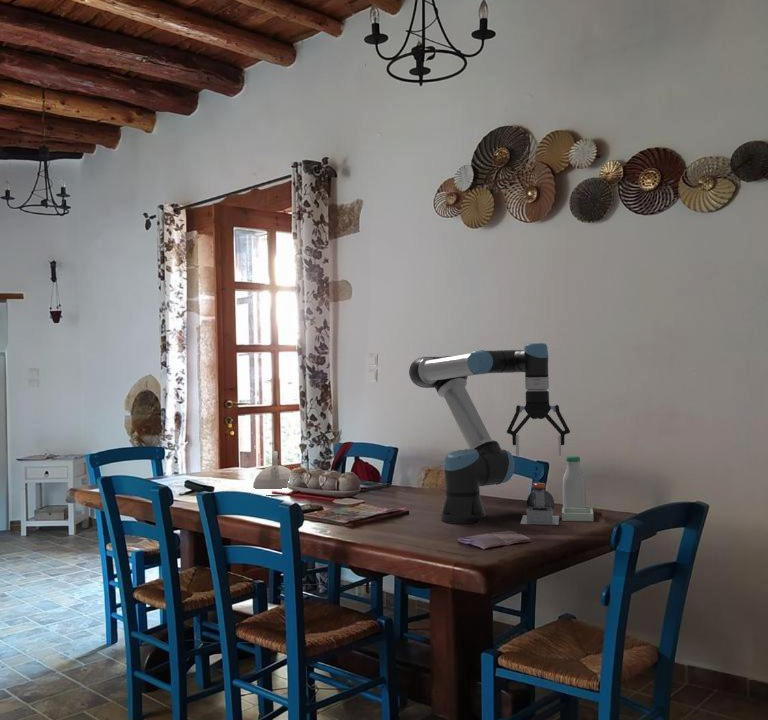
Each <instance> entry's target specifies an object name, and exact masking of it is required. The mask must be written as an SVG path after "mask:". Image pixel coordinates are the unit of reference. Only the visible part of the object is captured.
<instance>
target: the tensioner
mask: <svg viewBox="0 0 768 720" xmlns="http://www.w3.org/2000/svg"><path fill="white" fill-rule="evenodd" d="M544 505H545V510H535V504H534V490H533V491H531V492H530V493H529V495H528V497H527V499H526V506H527V508H526V514H523V515H522V518H521V521H520V525H548V526H549V525H551V526H552V525H555V526H556V525H557V526H559V524H560V515H553V510H554V508H555V499H554V497H553V495H552V494H551V493H550V492H549V491H548V490H546V489H544Z"/></svg>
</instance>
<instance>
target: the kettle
mask: <svg viewBox="0 0 768 720" xmlns="http://www.w3.org/2000/svg"><path fill="white" fill-rule="evenodd" d="M271 455H272V456H271V457H272V458H271V461H272V462H271V463H272V464H271V465H270V466H269V465H268V466H267V467H265V468H264V469H262V470H261V471H259V473H258V474H257V476H256V477H255V478H254V481H253V484H252V486H253V487H252V489H253V488H255V489H282V488H287V484H288V481H289V477H290V472H291V471H292V470H291V469H290V468H288V467H286V466H283V465H279V462H278V461H279V459H280V456H279V451H278V450H274V451H272V454H271Z"/></svg>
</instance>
